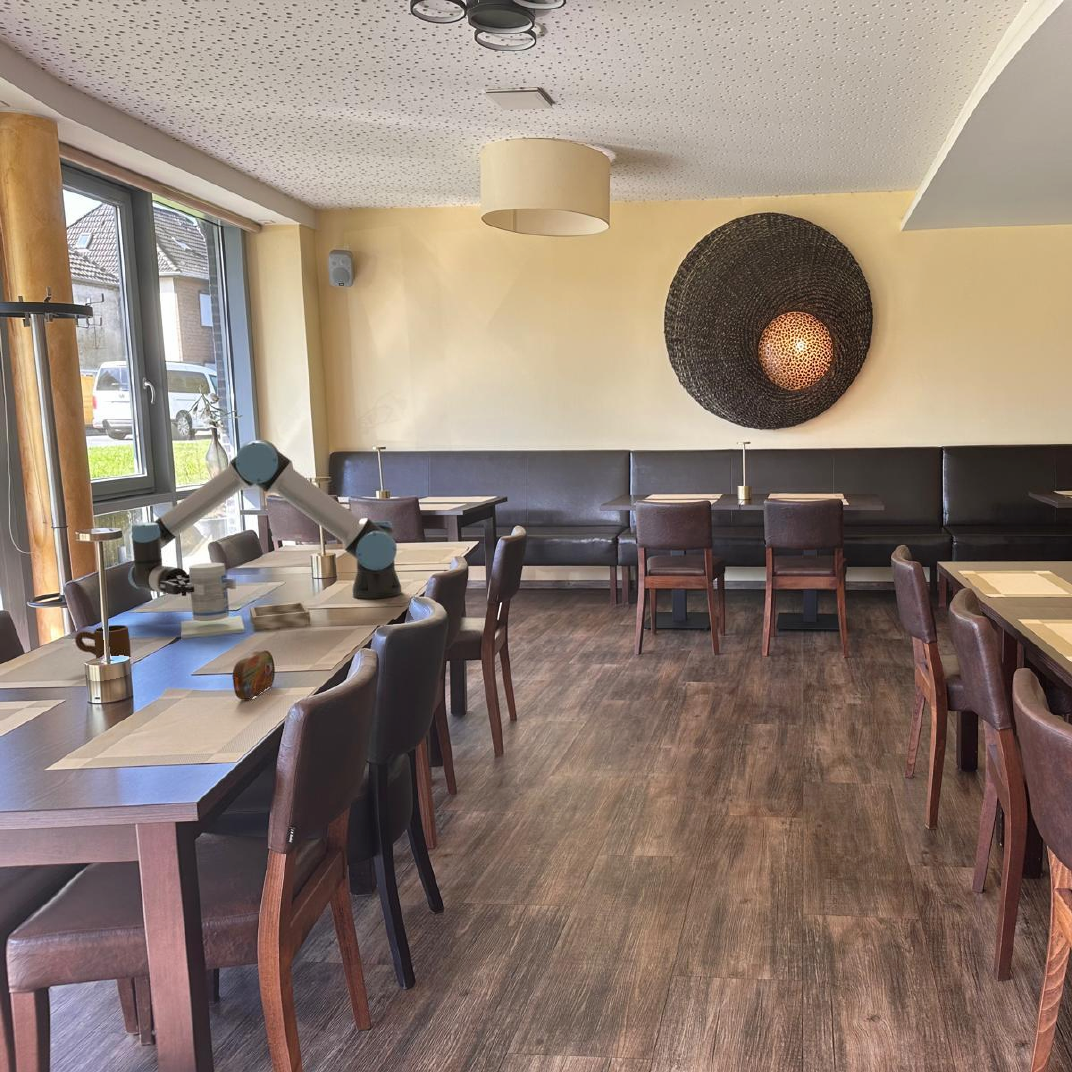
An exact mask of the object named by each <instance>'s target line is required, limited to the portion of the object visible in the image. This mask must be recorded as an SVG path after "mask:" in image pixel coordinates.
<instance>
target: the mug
mask: <svg viewBox="0 0 1072 1072" xmlns="http://www.w3.org/2000/svg"><path fill="white" fill-rule="evenodd" d="M108 626H109V647H110V654H111V656H119V655H124V656H129V657H131V658H132V653H131V644H130V643H131V641H130V633H129V627H128V626H127V625H124V624H122V625H121V624H116V625H113V624H112V625H108ZM102 627H103V626H101V627H98V628H95V629H94V631H93V632H92V631H88V630H84V631H79V632H78V633H77V635H75V640H74V641H75V645H76V648H78V649H79V650H80V651H82V652H85V653H90V654H92V655H93V656H95V660H96V659H97V658H100V657H102V656H103V655H104V640H103V629H102ZM83 638H86V639H90V640H93V641H94V642H93V643H94V645H93V644H86V643H84V641H83Z"/></svg>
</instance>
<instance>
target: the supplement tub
mask: <svg viewBox="0 0 1072 1072" xmlns="http://www.w3.org/2000/svg"><path fill="white" fill-rule="evenodd" d="M188 569H189V571H188V574H189V578H190V583H192V584H200V585H204V594H205V595H195V594H190V601H191V611H192V612H191V613H192V618H193V620H197V621H213V620H220V619H224V618H226V617H229V615H230V609H229V608H230V607H229V596H228V588H227V580H226V576H227V570H226V564H225V563H224V562H223V563H222V562H207V563H203V562H202V563H196V564H192V565H190V566H189V567H188Z"/></svg>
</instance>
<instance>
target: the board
mask: <svg viewBox="0 0 1072 1072" xmlns="http://www.w3.org/2000/svg"><path fill="white" fill-rule="evenodd" d="M180 627H181V628H180V633H181V634H180V636H181V637H180V639H182V640H183V639H192V638H202V637H210V636H220V635H221V636H223V635H230V634H241V633H245V626H244V622H243V618H242V616H241V615H236V616H234V615H233V616H228V617H226V618H224V619H220V620H213V621H197V620H195V619H191V620H182V621H181V626H180Z"/></svg>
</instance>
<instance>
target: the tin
mask: <svg viewBox="0 0 1072 1072" xmlns="http://www.w3.org/2000/svg"><path fill="white" fill-rule="evenodd" d="M275 669H276V667H275V662H274V658H273V655H272V654H271V652H269V651H268V650H258V651H253V652H252V653H250V654H249V655H247V656H245V657H244V658H243V659H240V660H238V661H237V662H236V663H235V666H234V667H233V671H232V681H233V682H232V683H233V688H234V689H233V690H234V693H235V696H236V697H237V698H238V699H239V700H242V699H248V700H252V698H253V697H254V696H258V695H259V694H260V693H261V692H263V691H264V690H265V689H267V688H268V687H271V688H272V686H273V683H274V680H275V675H276V674H275V673H276V672H275V671H276V670H275ZM258 697H259V696H258ZM252 701H253V700H252Z"/></svg>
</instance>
